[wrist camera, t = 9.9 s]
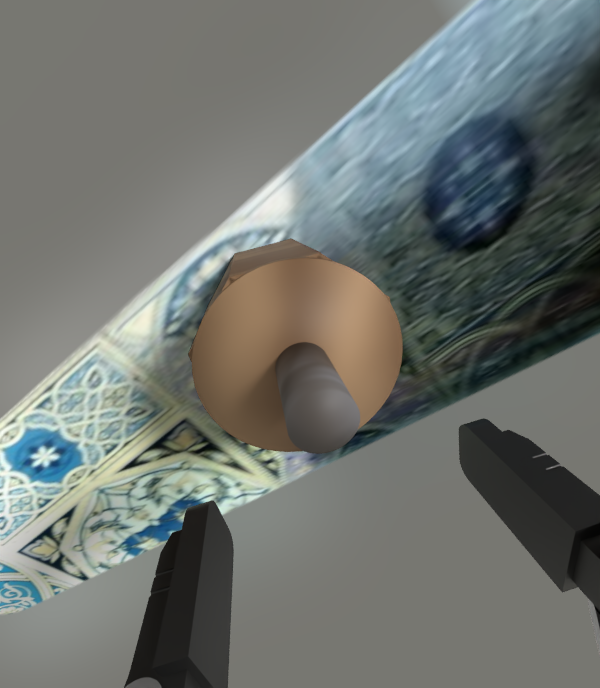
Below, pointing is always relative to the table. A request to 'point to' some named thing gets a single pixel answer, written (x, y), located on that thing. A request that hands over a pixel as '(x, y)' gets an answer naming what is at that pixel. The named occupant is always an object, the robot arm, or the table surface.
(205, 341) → the tan jar with knob
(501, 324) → the table surface
